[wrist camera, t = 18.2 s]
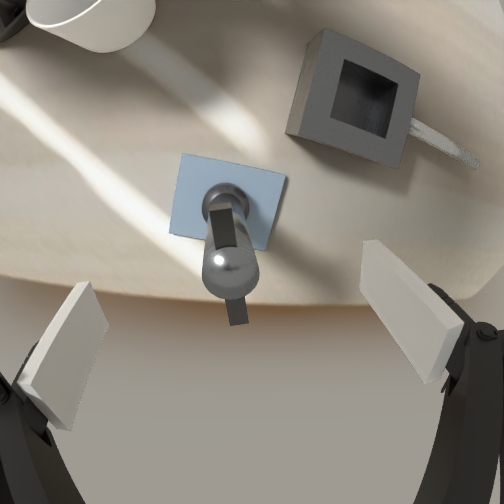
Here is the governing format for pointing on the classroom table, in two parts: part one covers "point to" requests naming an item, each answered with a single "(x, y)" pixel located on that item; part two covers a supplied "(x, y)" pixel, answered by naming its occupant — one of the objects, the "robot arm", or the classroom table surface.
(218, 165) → the mat
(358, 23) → the classroom table surface
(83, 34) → the mug
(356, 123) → the block
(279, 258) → the classroom table surface
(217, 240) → the key
